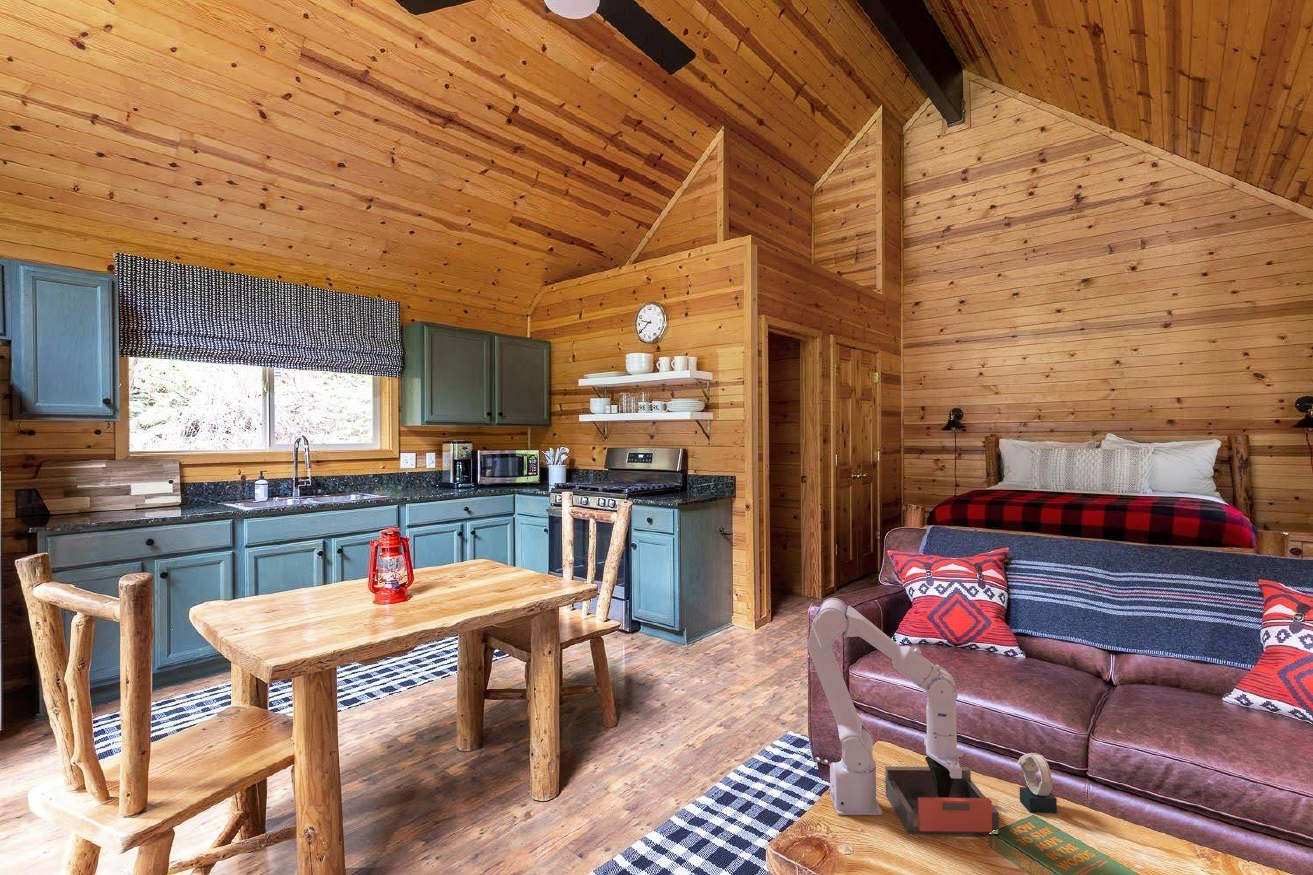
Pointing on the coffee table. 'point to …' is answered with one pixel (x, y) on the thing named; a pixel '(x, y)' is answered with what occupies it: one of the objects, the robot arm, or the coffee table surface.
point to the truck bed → (926, 795)
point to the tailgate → (955, 814)
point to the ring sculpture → (1034, 794)
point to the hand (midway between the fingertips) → (942, 795)
